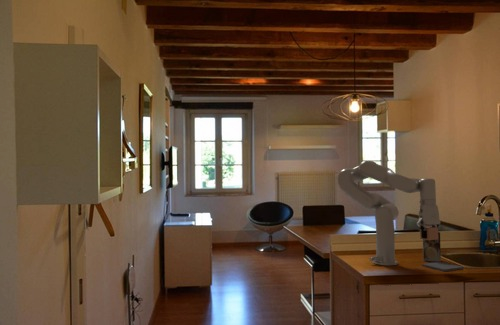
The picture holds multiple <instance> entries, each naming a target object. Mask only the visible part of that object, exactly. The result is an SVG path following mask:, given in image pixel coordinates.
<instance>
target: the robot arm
mask: <svg viewBox="0 0 500 325" xmlns="http://www.w3.org/2000/svg"><path fill="white" fill-rule="evenodd" d="M368 178H370V179H371V180H375V181H377V182H380V183H383V184H384V185H387V186H389V187H392V188H393V189H396V190H399V191H401V192H403V193H406V194H413V193H419V208H418V209H419V210H418V221H417V222H416V225H417V226H418V228H419V231H420V230H421V236H422V238H425V239H426V238H427V231H426V228H427V227H428V226H430V227H437V228H439V226H440V224H441V223H442V222H441V220H440V211H439V207H438V204H437V194H436V193H437V192H436V180H435V179H434V178H415V177H413V178H409V177H407V176H404V175H401V174H399V173H396V172H395V171H393V169H391V168H390V167H386V166H385V165H381V164H379V163H377V162H375V161H373V160H362V161H361V163H360V164H359V165H358V166H356V167H352V168H343V169H342V170H340V171H339V173H338V175H337V185H338V187H339V189H340V190H341V191H342V192H343V193H344V194H345V195H347V197H349V198H350V199H351V200H353V201H354V202H355V203H357V204H358V205H360V207H362V208H363V209H364V210H367V211H374V212H375V214H374V218H375V219H374V220H375V221H374V222H375V232H376V233H375V238H376V239H375V245H376V248H375V249H376V251H375V252H376V254H374V256H370V257H369V258H368V259H369V261H371V262H373V264H374V265H375V264H376V265H380V266H387V267H388V266H389V267H391V266H398V264H399V261H397V260H396V258H395V256H396V254H395V253H396V252H395V250H396V248H395V247H396V246H395V243H396V242H395V237H396V235H395V230H396V229H395V223H394V220H396V219H397V218H398V216H399V209H398V207H397V206H396V205H395V204H394V203H392V202H391V201H389V200H388V199H387V198H385V197H384V196H382V195H381V194H380V193H376V192H369V191H368V190H366V189H365V188H364V187H362V186H360V185H359V184H357V183H359V182H361V181H363V180H366V179H368Z"/></svg>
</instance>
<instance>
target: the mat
mask: <svg viewBox="0 0 500 325" xmlns="http://www.w3.org/2000/svg"><path fill="white" fill-rule="evenodd" d="M421 267H425V268H428V269H433V270H437V271H441V272H451V271H457V270H458V269H459V270H464V269H463V268H464V266H462V265H457V264H452V263H448V262H444V261H441V262H434V261H433V262H427V263H422V264H421Z"/></svg>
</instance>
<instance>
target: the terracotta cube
mask: <svg viewBox="0 0 500 325" xmlns="http://www.w3.org/2000/svg"><path fill="white" fill-rule="evenodd" d="M438 228H439V227H438ZM438 228H437V227H431V226H430V225H427V228H426V231H427V238H426V239H425V238H422V236H421V230H420V229H419V236H420V237H419V238H420V240H423V239H424V240H437V239H438V232H439V229H438Z"/></svg>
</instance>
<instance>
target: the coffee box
mask: <svg viewBox="0 0 500 325" xmlns="http://www.w3.org/2000/svg"><path fill="white" fill-rule="evenodd" d="M441 251H442V250H441V232H440V231H438V239H437V240H424V239H422V261H423V262H433V263H434V262H442V257H441V256H442V254H441Z"/></svg>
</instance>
